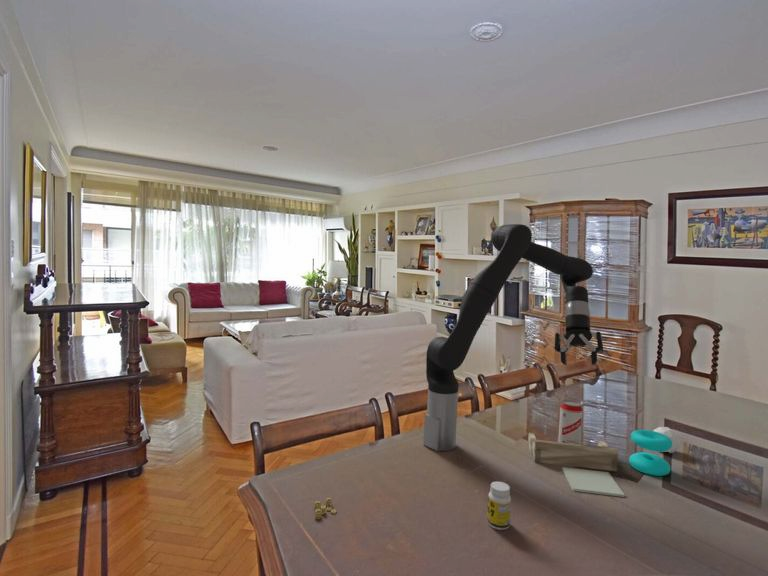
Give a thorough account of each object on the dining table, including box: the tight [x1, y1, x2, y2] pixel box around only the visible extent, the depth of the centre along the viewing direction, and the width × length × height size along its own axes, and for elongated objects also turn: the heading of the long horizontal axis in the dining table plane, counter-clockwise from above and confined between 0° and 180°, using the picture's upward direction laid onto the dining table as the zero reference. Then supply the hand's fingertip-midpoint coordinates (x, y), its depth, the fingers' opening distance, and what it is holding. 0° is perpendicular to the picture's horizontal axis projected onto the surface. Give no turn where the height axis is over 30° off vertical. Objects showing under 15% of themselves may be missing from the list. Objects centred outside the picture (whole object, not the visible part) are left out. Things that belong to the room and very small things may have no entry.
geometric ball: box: [652, 426, 681, 454], centre depth 135 cm, size 8×8×8 cm
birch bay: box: [527, 432, 619, 472], centre depth 128 cm, size 12×22×6 cm, turn 80°
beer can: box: [557, 399, 584, 444], centre depth 129 cm, size 6×6×16 cm
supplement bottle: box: [486, 481, 512, 531], centre depth 93 cm, size 5×5×8 cm
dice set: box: [313, 497, 337, 520], centre depth 95 cm, size 5×5×2 cm
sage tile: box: [561, 466, 626, 498], centre depth 113 cm, size 12×12×1 cm
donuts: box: [628, 429, 672, 477], centre depth 122 cm, size 10×10×10 cm
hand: (578, 364), depth 138 cm, fingers open, 8 cm apart
